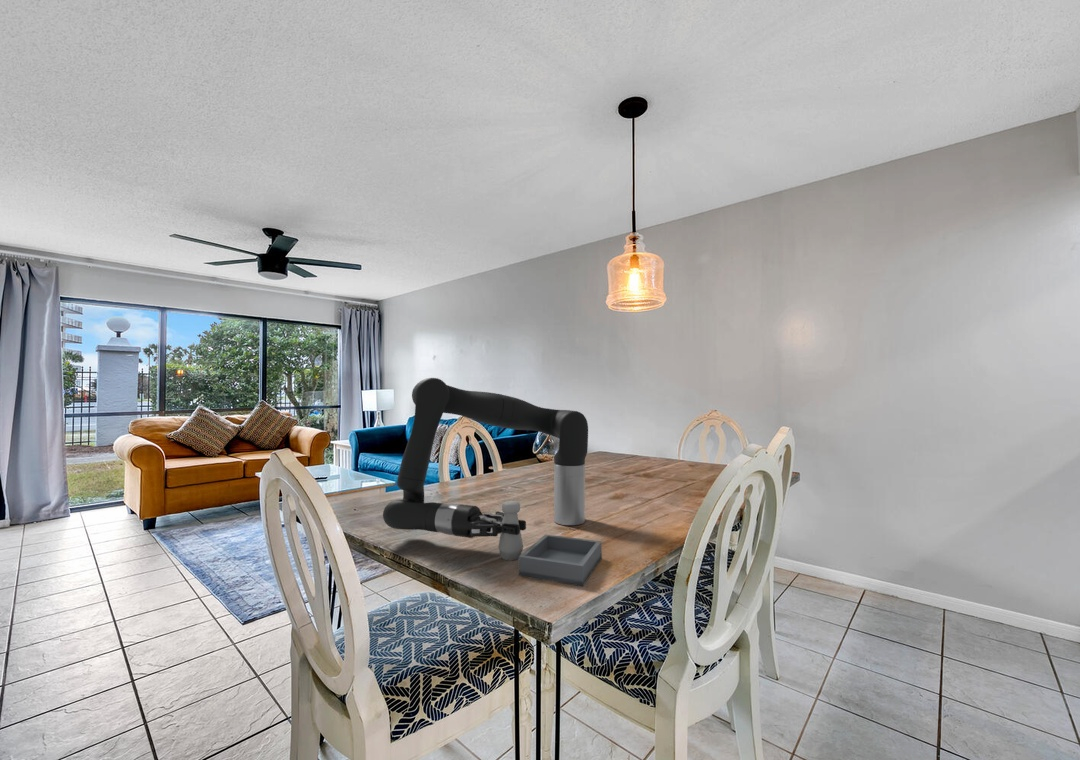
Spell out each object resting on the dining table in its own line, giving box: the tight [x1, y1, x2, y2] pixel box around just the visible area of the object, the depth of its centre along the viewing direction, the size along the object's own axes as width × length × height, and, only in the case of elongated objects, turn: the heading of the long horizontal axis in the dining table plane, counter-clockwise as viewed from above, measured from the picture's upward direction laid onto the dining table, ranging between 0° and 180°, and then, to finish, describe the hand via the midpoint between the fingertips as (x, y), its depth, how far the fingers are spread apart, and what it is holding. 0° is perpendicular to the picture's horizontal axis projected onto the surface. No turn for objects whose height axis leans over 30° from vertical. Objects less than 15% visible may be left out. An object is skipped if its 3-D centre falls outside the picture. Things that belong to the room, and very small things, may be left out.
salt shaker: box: [497, 500, 524, 561], centre depth 105 cm, size 6×6×13 cm
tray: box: [518, 533, 602, 587], centre depth 100 cm, size 16×14×4 cm
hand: (522, 527), depth 104 cm, fingers closed on salt shaker, 3 cm apart
